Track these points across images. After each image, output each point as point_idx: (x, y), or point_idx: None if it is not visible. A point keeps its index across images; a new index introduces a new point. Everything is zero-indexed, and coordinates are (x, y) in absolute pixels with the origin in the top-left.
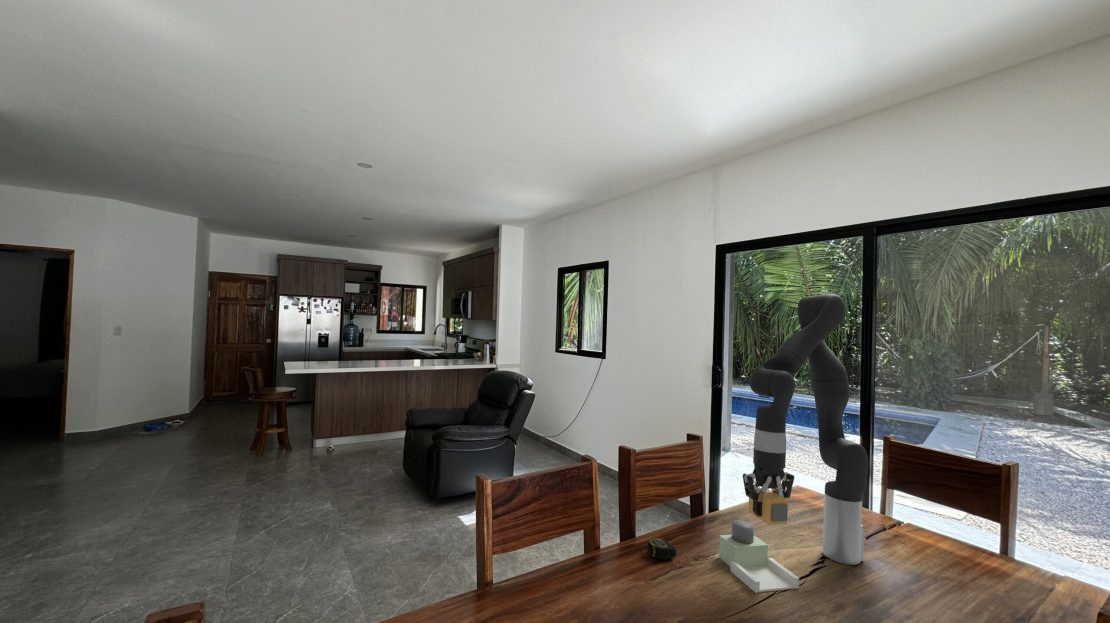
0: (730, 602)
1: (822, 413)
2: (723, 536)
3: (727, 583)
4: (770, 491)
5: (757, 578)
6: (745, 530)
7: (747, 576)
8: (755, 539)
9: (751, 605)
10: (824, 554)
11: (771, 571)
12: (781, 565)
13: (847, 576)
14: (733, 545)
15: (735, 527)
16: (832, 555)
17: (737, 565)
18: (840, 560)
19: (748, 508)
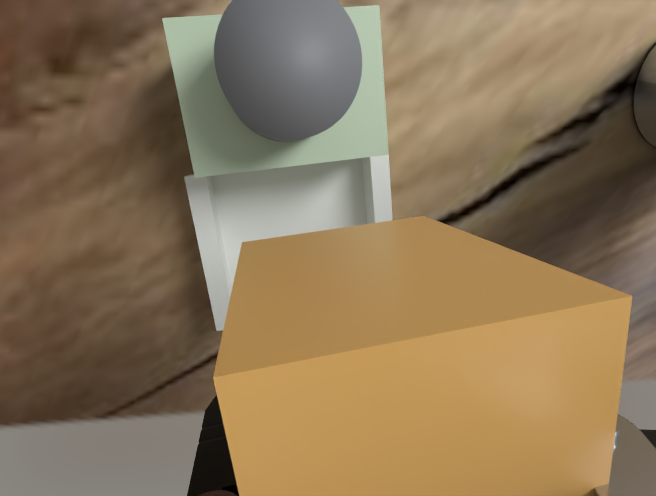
0: (104, 369)
1: None
2: (180, 37)
3: (140, 261)
4: (576, 471)
5: None
6: (272, 136)
7: (207, 286)
8: (358, 89)
9: (172, 379)
10: (641, 72)
11: (352, 197)
12: (390, 214)
13: (590, 218)
14: (194, 155)
15: (221, 86)
16: (650, 112)
17: (199, 213)
18: (651, 134)
19: (240, 250)
